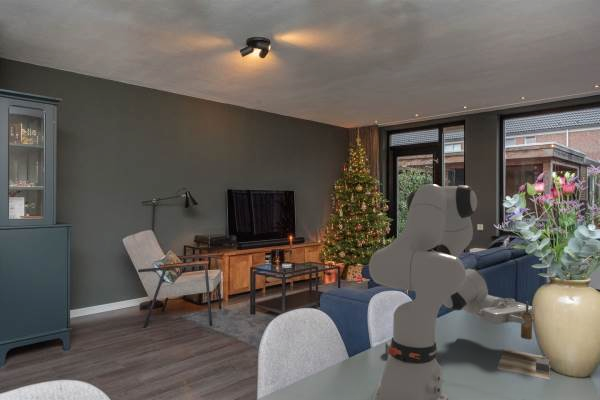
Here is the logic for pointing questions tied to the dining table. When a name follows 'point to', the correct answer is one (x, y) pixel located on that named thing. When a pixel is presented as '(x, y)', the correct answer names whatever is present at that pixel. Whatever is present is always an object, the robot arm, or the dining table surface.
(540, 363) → the block
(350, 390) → the dining table surface
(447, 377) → the dining table surface
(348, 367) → the dining table surface
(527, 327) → the awl
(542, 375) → the subfloor panel
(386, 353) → the usb wall charger
